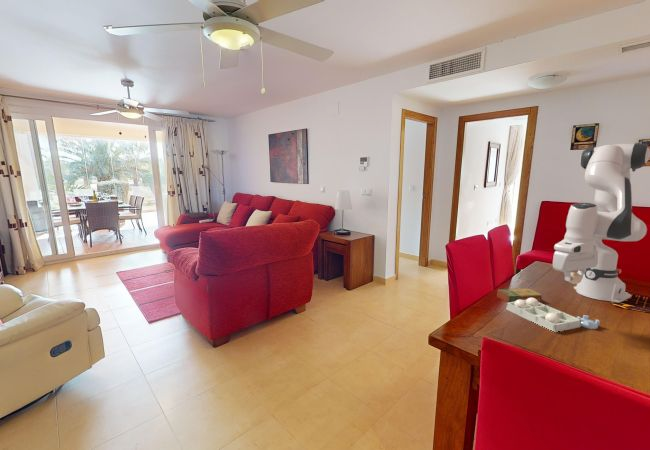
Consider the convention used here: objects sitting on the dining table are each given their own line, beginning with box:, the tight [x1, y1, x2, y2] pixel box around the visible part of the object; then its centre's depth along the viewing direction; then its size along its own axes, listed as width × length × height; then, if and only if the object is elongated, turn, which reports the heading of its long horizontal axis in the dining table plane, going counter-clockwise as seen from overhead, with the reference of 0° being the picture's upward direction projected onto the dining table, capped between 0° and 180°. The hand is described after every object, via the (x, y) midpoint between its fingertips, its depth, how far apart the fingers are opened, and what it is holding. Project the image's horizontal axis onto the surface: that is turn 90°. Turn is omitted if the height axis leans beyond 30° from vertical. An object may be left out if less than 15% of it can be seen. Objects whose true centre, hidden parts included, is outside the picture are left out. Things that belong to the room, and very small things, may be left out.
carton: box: [496, 287, 543, 304], centre depth 137 cm, size 8×16×4 cm, turn 94°
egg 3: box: [545, 313, 560, 324], centre depth 111 cm, size 5×5×5 cm
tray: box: [505, 300, 582, 333], centre depth 119 cm, size 14×20×3 cm
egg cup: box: [576, 314, 600, 330], centre depth 113 cm, size 6×6×3 cm
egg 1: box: [514, 299, 527, 309], centre depth 124 cm, size 5×5×5 cm
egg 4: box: [567, 271, 582, 285], centre depth 113 cm, size 5×5×5 cm
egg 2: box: [526, 298, 540, 307], centre depth 126 cm, size 5×5×5 cm
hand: (573, 279), depth 113 cm, fingers closed on egg 4, 5 cm apart
